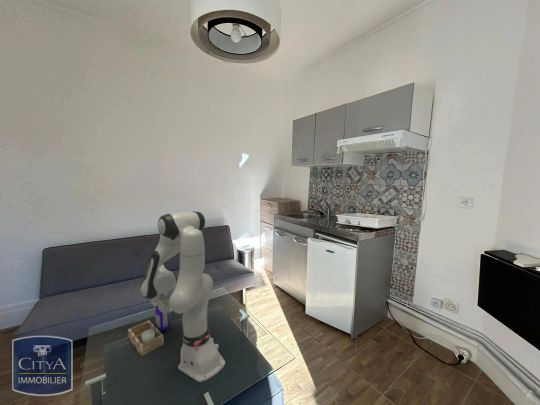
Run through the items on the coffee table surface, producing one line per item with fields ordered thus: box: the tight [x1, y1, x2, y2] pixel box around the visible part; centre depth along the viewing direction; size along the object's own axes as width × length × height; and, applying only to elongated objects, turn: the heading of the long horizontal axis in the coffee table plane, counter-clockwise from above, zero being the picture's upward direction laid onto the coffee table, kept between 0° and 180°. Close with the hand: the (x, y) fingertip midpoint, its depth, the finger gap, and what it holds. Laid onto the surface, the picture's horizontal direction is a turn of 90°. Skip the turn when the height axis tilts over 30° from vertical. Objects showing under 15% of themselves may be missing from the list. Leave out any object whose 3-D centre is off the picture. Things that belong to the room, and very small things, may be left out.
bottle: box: [154, 305, 169, 332], centre depth 133 cm, size 7×6×17 cm
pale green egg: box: [142, 329, 155, 344], centre depth 121 cm, size 6×6×7 cm
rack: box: [127, 320, 165, 357], centre depth 124 cm, size 20×11×6 cm, turn 46°
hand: (161, 315), depth 133 cm, fingers open, 7 cm apart
